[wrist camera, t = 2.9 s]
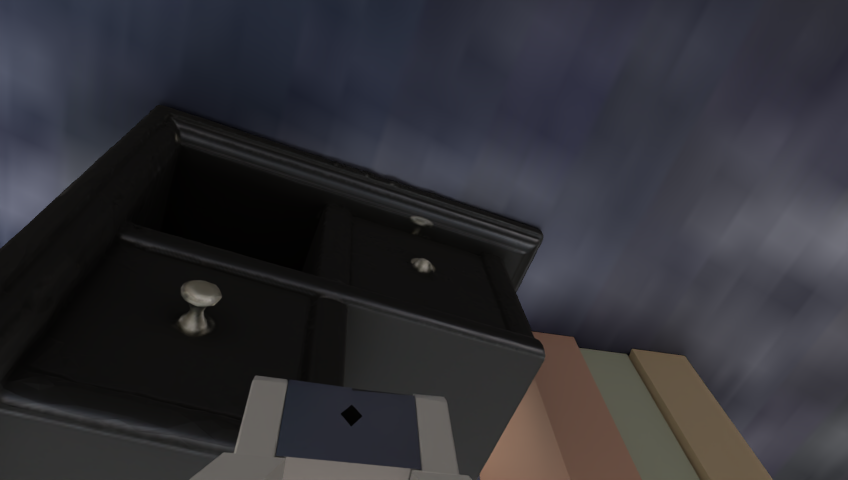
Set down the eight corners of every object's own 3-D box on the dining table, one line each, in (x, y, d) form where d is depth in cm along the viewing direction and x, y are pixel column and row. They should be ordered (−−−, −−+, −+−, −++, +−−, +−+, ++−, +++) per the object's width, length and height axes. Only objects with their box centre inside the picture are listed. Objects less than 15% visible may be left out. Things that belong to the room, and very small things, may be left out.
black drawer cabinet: (544, 227, 39) (740, 579, 18) (475, 361, 44) (569, 771, 23) (158, 97, 34) (-186, 380, 13) (123, 264, 38) (-179, 678, 17)
